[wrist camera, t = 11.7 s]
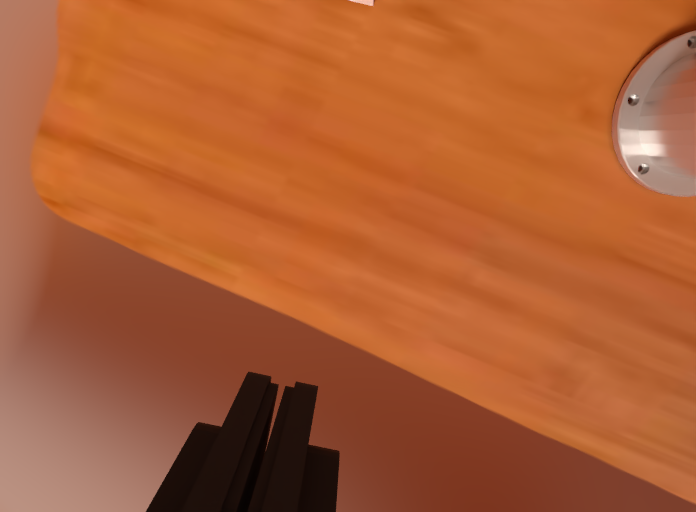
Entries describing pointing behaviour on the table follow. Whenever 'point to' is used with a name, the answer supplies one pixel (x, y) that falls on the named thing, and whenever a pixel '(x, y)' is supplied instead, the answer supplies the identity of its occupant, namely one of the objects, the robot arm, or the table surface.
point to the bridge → (364, 2)
